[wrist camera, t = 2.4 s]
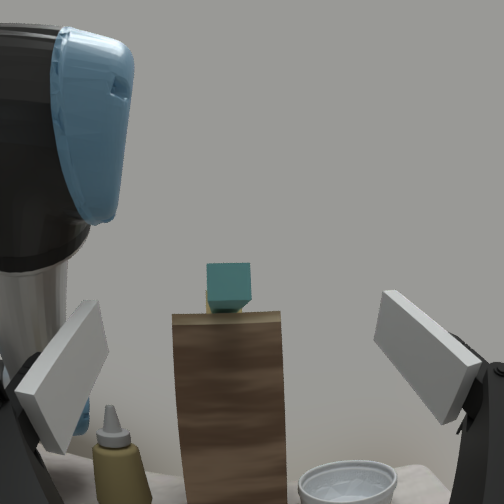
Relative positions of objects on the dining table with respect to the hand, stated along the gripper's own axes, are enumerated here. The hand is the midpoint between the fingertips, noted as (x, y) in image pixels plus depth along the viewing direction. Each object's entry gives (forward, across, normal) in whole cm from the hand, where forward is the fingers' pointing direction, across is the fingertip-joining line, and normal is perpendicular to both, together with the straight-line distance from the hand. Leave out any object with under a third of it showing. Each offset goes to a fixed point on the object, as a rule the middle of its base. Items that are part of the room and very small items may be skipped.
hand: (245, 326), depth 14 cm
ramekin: (+5, +14, -36) cm, 39 cm away
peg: (+21, 0, -10) cm, 23 cm away
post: (+10, 0, -38) cm, 39 cm away
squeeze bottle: (+8, -16, -38) cm, 42 cm away
